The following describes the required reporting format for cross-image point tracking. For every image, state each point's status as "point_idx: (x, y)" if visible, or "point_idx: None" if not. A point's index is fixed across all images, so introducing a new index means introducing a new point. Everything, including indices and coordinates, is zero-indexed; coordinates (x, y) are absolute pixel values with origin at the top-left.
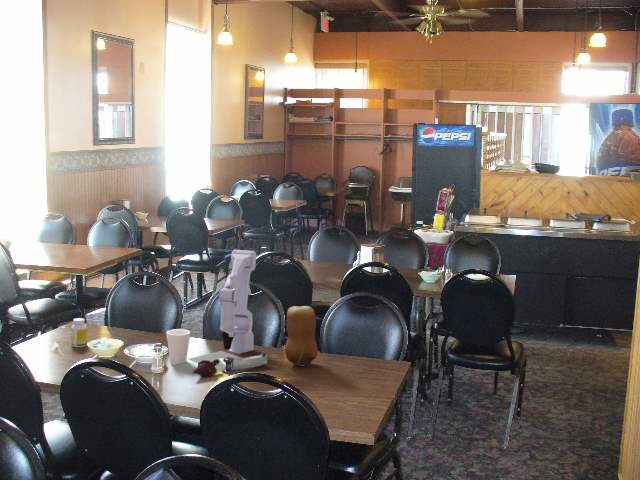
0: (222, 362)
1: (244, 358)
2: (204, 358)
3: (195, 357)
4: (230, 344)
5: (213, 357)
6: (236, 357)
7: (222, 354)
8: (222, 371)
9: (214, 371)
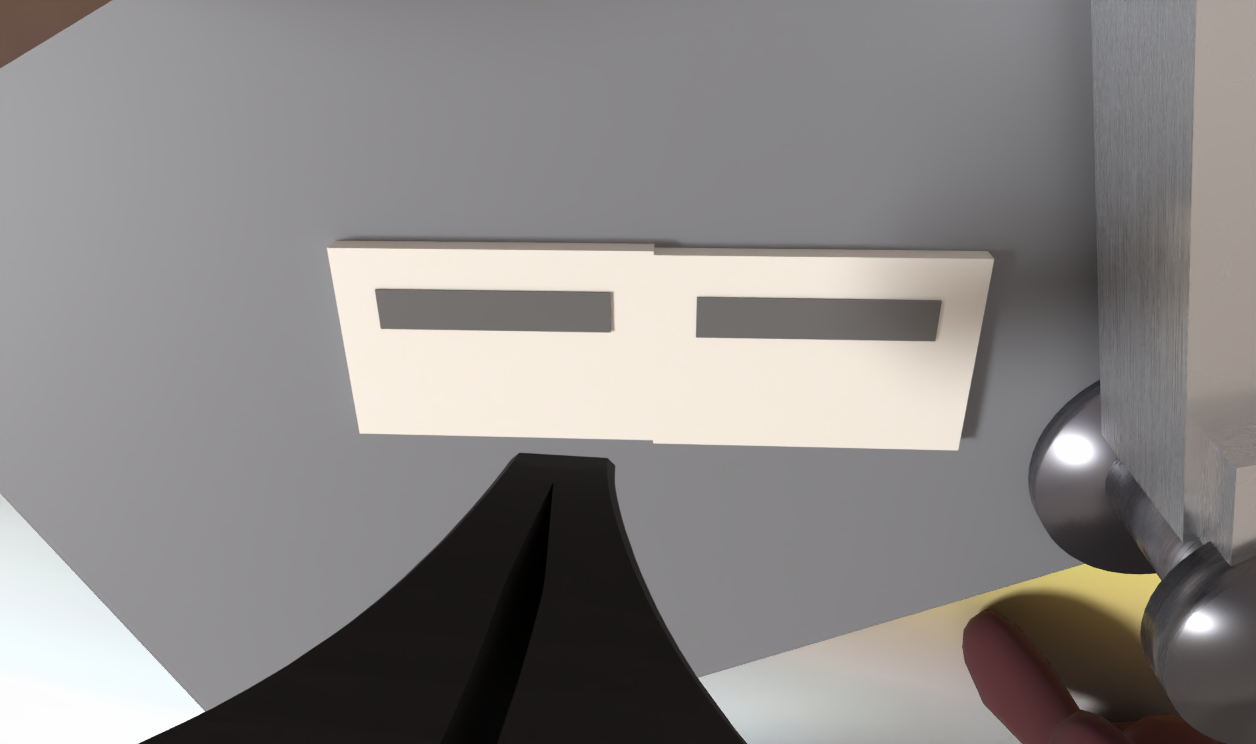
0: (624, 436)
1: (1252, 145)
2: (276, 611)
3: (211, 703)
4: (620, 560)
5: (227, 474)
6: (257, 22)
7: (22, 268)
8: (1141, 568)
9: (1046, 661)
